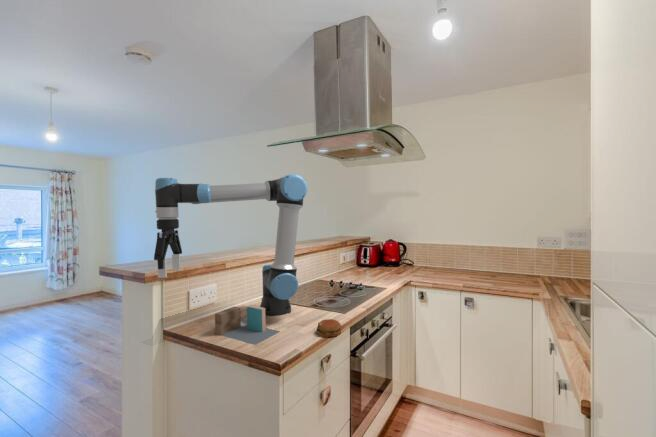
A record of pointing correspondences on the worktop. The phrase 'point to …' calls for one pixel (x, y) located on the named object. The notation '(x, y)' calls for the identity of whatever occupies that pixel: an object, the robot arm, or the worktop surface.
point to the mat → (250, 335)
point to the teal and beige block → (256, 318)
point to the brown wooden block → (228, 320)
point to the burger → (329, 328)
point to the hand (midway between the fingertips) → (169, 273)
